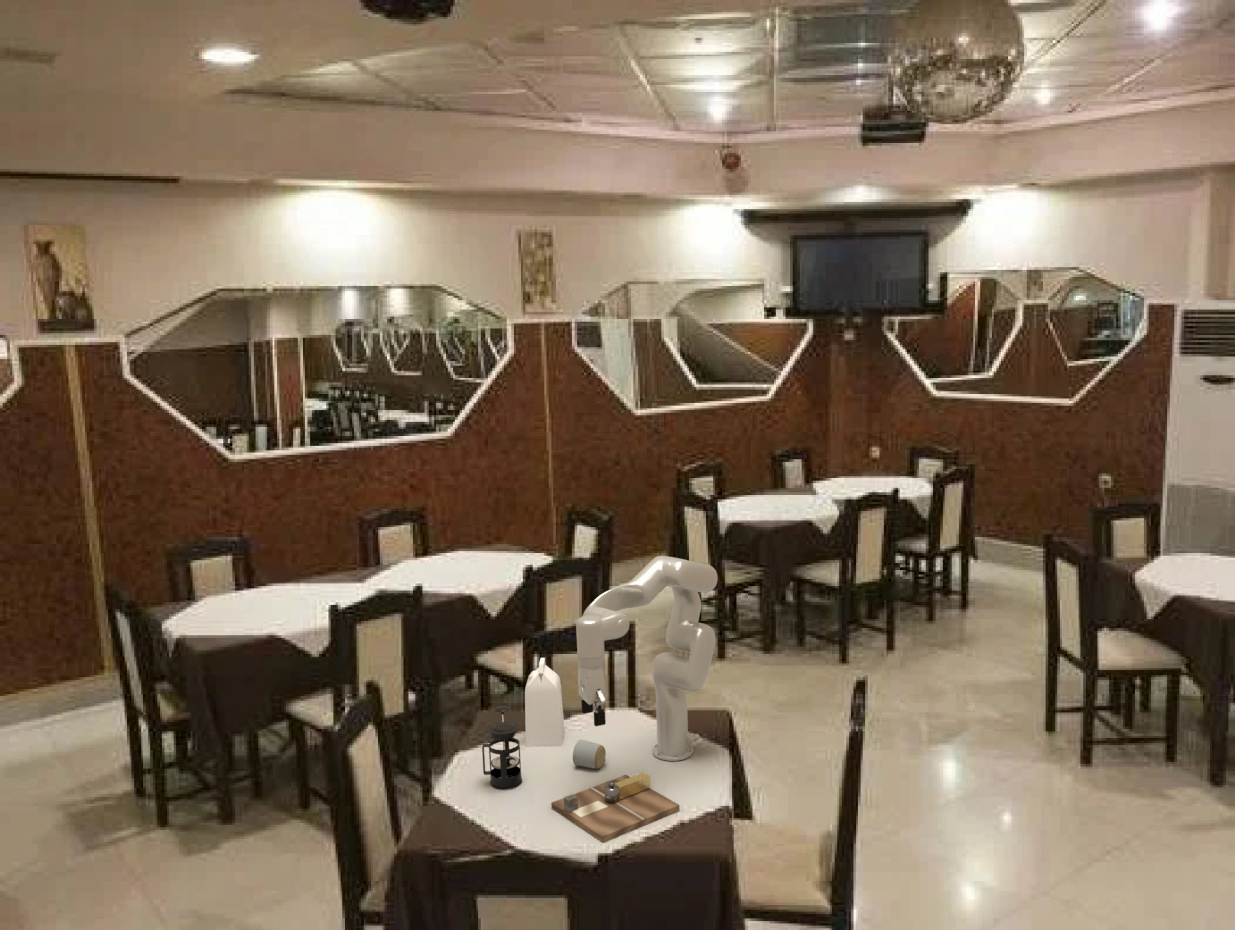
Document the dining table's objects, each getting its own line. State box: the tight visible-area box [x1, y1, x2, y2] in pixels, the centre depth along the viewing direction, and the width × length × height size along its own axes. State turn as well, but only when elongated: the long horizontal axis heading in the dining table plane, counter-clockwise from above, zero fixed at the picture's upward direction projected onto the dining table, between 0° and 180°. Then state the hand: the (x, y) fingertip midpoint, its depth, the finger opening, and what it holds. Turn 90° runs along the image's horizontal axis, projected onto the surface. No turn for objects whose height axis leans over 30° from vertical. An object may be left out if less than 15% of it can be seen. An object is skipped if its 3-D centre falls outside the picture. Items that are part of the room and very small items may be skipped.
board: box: [550, 774, 680, 843], centre depth 280 cm, size 26×24×5 cm
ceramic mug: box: [572, 739, 607, 770], centre depth 308 cm, size 11×8×8 cm
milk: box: [524, 657, 566, 748], centre depth 326 cm, size 12×12×26 cm
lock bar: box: [604, 772, 651, 803], centre depth 285 cm, size 14×4×4 cm, turn 127°
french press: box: [481, 705, 523, 791], centre depth 296 cm, size 12×9×23 cm
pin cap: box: [607, 780, 615, 788], centre depth 281 cm, size 2×2×1 cm
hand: (593, 718), depth 286 cm, fingers open, 9 cm apart
